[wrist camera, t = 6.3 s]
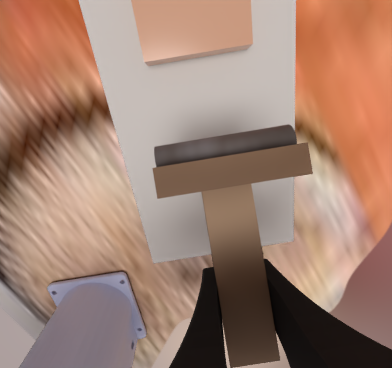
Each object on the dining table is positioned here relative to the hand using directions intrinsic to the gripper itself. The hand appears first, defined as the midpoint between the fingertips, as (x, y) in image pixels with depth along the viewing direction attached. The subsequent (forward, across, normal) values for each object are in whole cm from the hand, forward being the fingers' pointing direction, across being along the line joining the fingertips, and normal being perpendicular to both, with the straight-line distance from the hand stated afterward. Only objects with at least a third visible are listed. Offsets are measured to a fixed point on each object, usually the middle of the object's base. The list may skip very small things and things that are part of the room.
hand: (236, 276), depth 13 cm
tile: (+6, 0, -13) cm, 14 cm away
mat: (+8, 0, -8) cm, 11 cm away
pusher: (+3, 0, -1) cm, 3 cm away
